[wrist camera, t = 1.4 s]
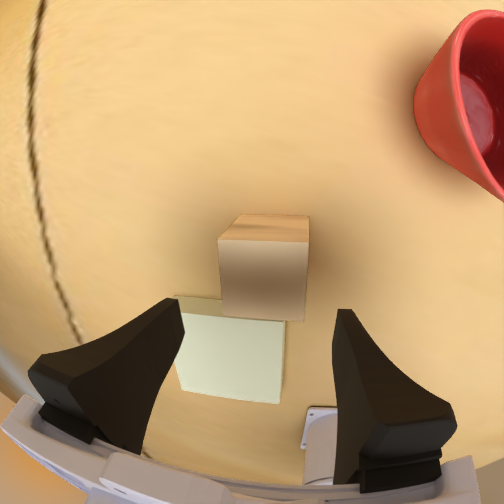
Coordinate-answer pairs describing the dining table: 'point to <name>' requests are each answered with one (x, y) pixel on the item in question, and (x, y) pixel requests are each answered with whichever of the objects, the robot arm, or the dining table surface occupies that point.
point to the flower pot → (467, 100)
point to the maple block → (265, 267)
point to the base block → (229, 353)
